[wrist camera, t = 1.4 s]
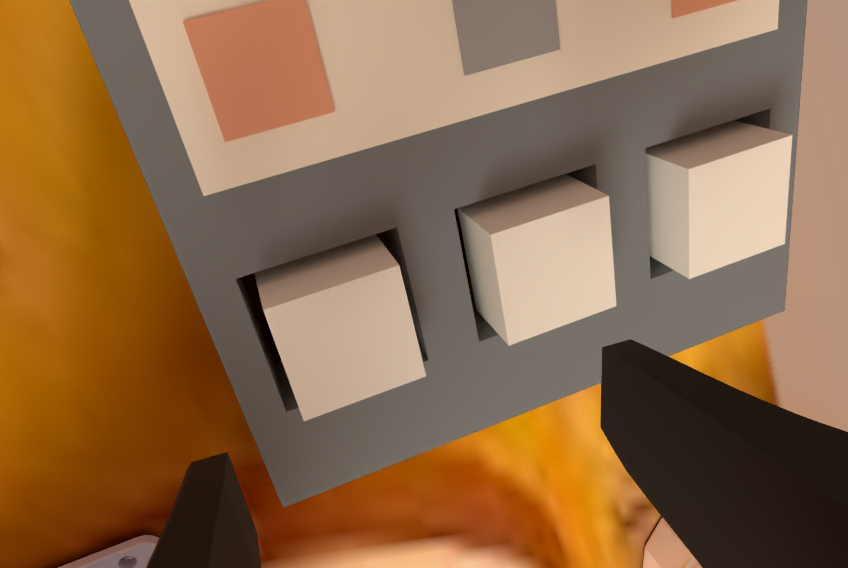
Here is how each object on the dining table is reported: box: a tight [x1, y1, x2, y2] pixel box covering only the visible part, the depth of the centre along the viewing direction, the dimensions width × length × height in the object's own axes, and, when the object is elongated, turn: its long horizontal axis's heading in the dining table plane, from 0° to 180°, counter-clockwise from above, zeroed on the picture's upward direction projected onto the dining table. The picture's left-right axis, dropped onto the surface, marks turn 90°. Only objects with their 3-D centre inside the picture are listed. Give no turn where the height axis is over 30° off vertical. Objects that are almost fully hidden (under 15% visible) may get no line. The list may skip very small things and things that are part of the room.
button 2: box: [254, 234, 426, 421], centre depth 16 cm, size 3×3×2 cm
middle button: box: [457, 174, 616, 346], centre depth 17 cm, size 3×3×2 cm
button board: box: [69, 0, 807, 508], centre depth 18 cm, size 17×14×3 cm
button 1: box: [645, 120, 792, 279], centre depth 19 cm, size 3×3×2 cm
